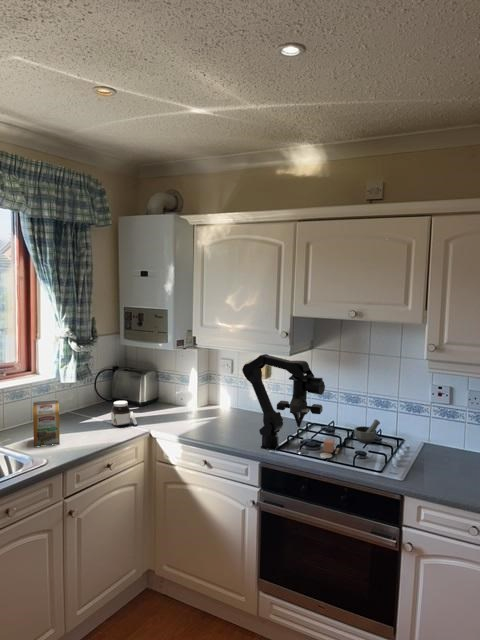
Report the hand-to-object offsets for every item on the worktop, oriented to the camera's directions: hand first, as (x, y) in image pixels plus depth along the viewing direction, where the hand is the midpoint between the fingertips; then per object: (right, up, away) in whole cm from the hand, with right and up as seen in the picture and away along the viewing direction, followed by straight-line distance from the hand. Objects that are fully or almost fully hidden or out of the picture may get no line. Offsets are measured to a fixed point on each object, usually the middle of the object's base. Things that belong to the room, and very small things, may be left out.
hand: (298, 427), depth 207 cm
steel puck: (+2, -12, 0) cm, 12 cm away
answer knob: (+13, -11, +3) cm, 17 cm away
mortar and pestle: (+33, -11, +15) cm, 37 cm away
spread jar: (-83, -8, +39) cm, 92 cm away
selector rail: (+8, -12, +4) cm, 15 cm away
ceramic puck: (+11, -13, -3) cm, 17 cm away
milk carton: (-112, -10, +12) cm, 113 cm away
